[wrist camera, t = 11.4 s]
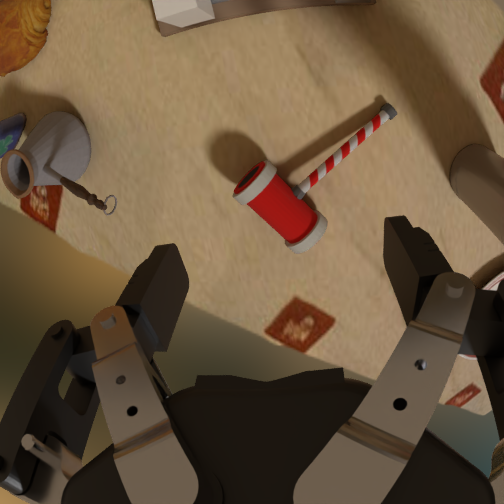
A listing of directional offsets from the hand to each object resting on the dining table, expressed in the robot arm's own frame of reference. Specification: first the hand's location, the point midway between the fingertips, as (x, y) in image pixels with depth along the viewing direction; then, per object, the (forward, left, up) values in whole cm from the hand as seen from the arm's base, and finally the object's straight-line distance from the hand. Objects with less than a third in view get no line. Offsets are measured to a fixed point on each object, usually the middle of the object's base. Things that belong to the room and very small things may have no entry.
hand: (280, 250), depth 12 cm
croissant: (+36, -27, -30) cm, 54 cm away
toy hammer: (-3, +8, -31) cm, 32 cm away
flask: (+43, -10, -30) cm, 54 cm away
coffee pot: (+27, -2, -30) cm, 41 cm away
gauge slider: (+7, -19, -28) cm, 35 cm away
